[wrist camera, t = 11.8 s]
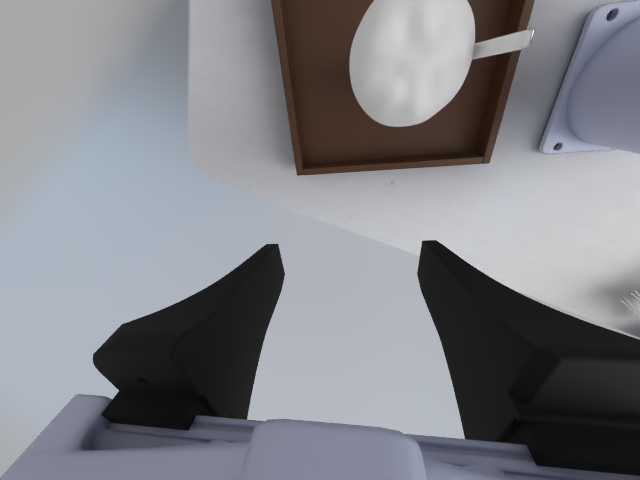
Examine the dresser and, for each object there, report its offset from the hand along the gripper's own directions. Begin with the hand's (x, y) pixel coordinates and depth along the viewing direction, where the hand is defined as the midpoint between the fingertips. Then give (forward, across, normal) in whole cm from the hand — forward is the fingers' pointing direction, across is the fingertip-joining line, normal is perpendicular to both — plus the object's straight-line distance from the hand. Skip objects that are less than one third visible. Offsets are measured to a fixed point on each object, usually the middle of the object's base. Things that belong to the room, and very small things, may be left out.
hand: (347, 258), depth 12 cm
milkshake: (+10, -3, -8) cm, 13 cm away
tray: (+10, -3, -8) cm, 13 cm away
